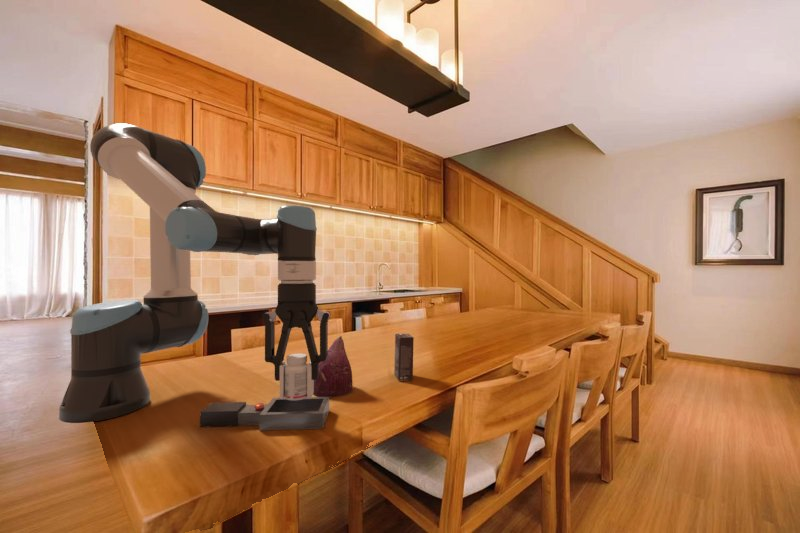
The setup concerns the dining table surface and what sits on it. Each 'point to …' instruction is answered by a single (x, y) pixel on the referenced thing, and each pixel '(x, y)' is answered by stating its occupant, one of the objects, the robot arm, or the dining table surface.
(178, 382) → the dining table surface
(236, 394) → the dining table surface
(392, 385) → the dining table surface
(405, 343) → the box
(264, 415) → the shallow gray tray
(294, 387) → the pill bottle
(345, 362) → the vegetable
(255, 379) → the dining table surface
